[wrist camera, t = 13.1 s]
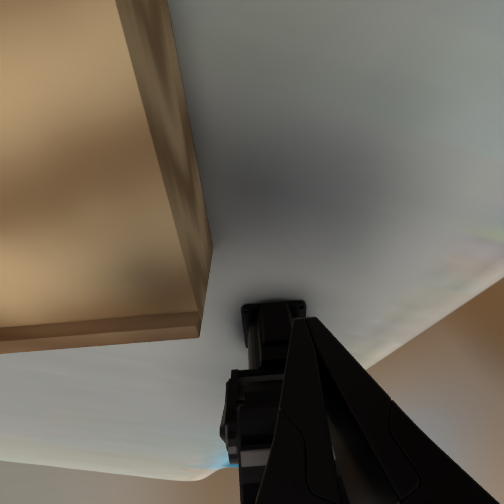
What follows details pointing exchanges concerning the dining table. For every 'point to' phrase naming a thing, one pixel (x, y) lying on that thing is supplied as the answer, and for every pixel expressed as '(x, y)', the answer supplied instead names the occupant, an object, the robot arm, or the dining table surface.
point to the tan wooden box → (96, 179)
